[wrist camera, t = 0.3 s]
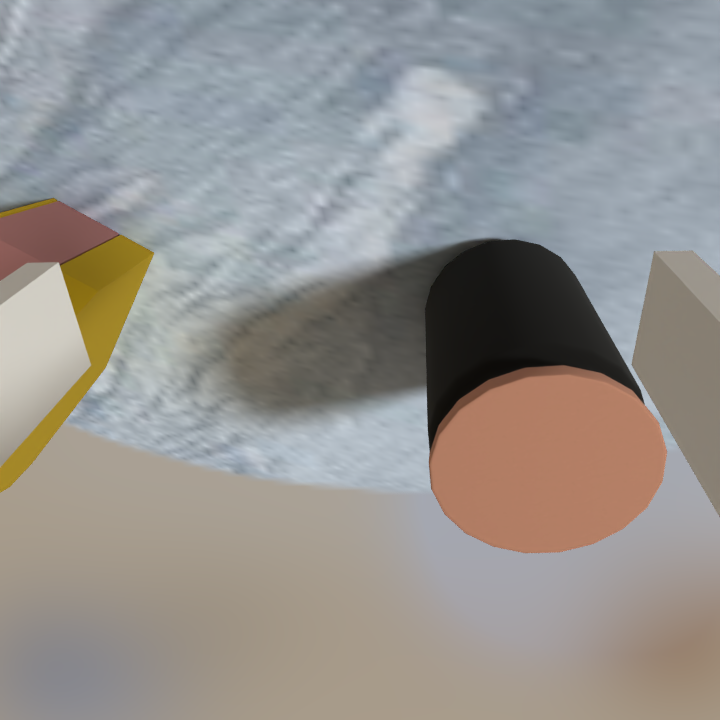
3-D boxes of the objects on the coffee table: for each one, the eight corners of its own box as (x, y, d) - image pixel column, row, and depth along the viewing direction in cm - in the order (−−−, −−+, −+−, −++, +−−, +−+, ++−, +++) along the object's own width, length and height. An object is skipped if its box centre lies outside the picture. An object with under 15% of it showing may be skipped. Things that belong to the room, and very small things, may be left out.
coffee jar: (402, 341, 46) (394, 515, 30) (463, 209, 40) (490, 339, 25) (532, 388, 47) (588, 579, 31) (608, 266, 42) (720, 423, 26)
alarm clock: (50, 170, 41) (-177, 275, 26) (162, 232, 43) (14, 367, 27) (0, 335, 48) (-202, 496, 33) (98, 383, 50) (-49, 559, 34)
